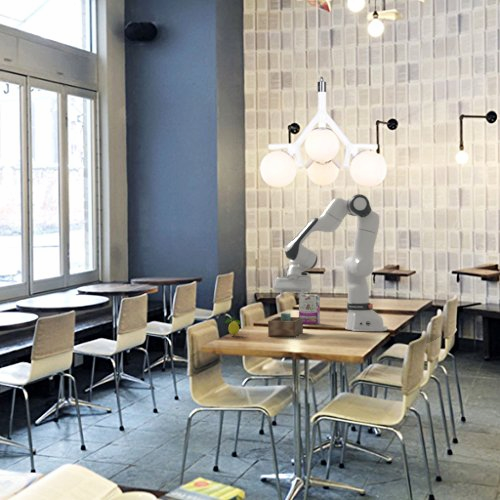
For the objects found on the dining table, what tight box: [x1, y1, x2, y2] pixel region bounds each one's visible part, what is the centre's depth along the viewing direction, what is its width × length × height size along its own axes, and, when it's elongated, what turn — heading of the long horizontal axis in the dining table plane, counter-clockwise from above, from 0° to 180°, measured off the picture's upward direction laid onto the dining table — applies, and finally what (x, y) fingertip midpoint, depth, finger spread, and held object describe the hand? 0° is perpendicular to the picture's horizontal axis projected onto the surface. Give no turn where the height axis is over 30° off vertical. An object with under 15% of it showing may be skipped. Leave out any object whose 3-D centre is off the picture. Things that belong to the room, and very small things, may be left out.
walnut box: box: [267, 316, 304, 338], centre depth 412 cm, size 14×17×8 cm
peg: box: [280, 312, 292, 321], centre depth 411 cm, size 4×4×10 cm
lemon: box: [224, 317, 243, 337], centre depth 409 cm, size 7×6×10 cm
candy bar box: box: [298, 294, 321, 325], centre depth 451 cm, size 11×5×16 cm, turn 68°
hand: (290, 297), depth 420 cm, fingers open, 8 cm apart
